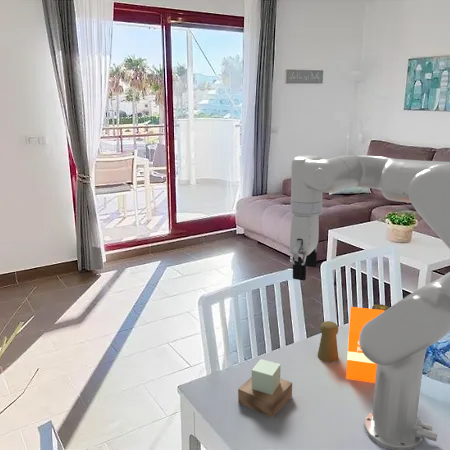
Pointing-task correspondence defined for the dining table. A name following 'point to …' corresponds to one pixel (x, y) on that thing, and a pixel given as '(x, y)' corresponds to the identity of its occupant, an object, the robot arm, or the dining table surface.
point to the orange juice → (356, 360)
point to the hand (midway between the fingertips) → (304, 272)
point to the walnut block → (265, 397)
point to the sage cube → (266, 376)
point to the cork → (328, 342)
